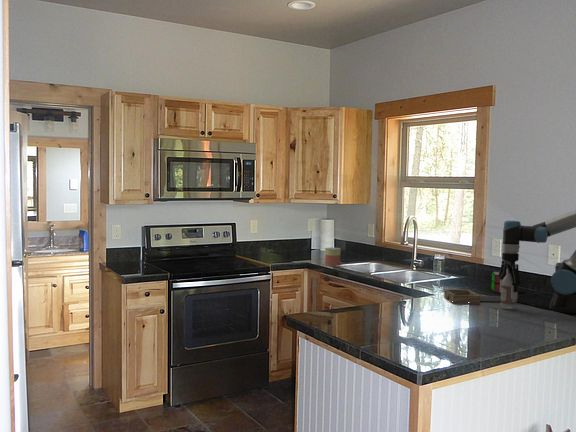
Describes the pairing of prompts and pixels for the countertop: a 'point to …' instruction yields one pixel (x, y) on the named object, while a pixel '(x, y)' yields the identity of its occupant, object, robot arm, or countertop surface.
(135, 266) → the countertop surface
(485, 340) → the countertop surface
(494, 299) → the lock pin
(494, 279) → the puzzle cube
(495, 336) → the countertop surface
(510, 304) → the bath foam
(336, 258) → the canned food
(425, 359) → the countertop surface
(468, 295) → the brown shallow tray
